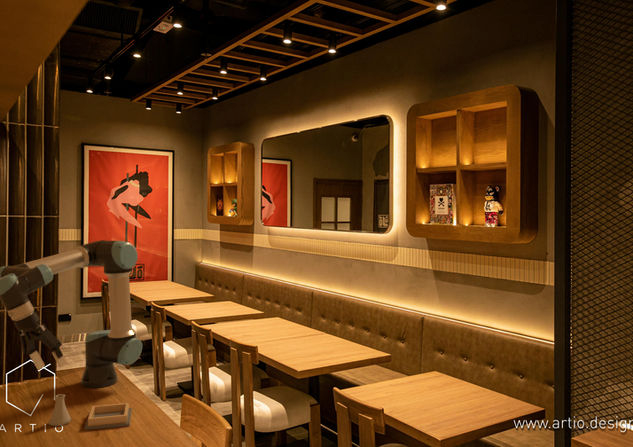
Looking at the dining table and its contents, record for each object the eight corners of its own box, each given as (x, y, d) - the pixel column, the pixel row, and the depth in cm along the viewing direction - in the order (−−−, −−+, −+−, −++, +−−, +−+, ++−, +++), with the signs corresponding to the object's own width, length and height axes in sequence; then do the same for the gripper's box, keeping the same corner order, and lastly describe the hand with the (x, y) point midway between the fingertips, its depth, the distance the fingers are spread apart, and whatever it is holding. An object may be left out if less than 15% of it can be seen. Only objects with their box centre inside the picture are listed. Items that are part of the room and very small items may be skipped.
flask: (61, 427, 187) (62, 400, 186) (44, 425, 188) (44, 398, 188) (75, 419, 194) (75, 393, 193) (57, 418, 195) (58, 391, 195)
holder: (89, 414, 199) (89, 405, 199) (131, 410, 203) (131, 401, 203) (84, 430, 185) (84, 420, 184) (129, 425, 189) (129, 416, 189)
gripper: (-5, 325, 188) (24, 375, 193) (35, 317, 175) (64, 370, 180) (13, 314, 194) (41, 363, 199) (53, 306, 182) (81, 357, 186)
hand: (52, 366), depth 190 cm, fingers open, 13 cm apart
